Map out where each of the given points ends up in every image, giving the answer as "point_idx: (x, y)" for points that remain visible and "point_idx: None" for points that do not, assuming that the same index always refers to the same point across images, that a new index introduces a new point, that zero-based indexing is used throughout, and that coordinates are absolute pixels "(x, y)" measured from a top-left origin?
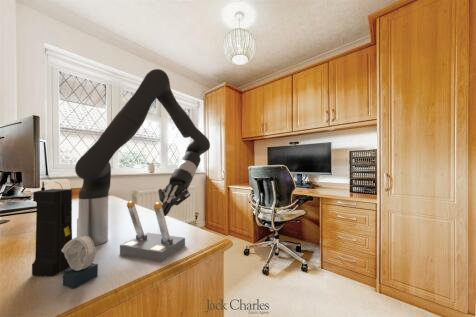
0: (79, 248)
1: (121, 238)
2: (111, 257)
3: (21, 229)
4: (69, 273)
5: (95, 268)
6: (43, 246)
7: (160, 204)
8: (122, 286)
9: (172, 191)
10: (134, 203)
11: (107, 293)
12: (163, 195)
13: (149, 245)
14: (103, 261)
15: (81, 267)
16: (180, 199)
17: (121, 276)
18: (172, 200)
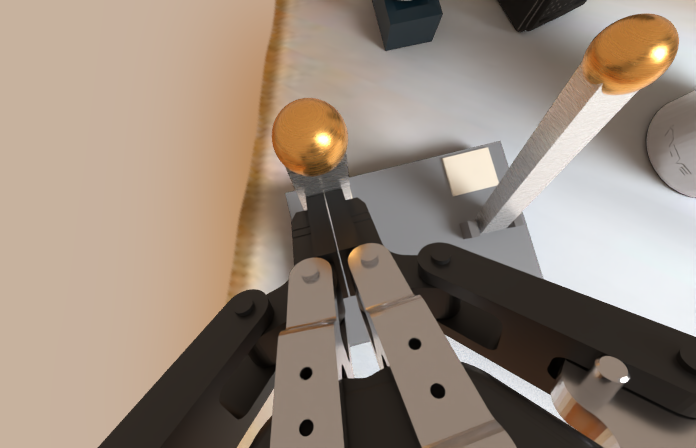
0: None
1: (649, 236)
2: (480, 125)
3: None
4: None
5: (387, 25)
6: None
7: (274, 137)
8: (272, 65)
9: (336, 406)
10: (616, 71)
11: (275, 32)
12: (516, 338)
13: (387, 204)
14: (471, 98)
15: None
16: (237, 409)
17: (324, 86)
18: (265, 296)
